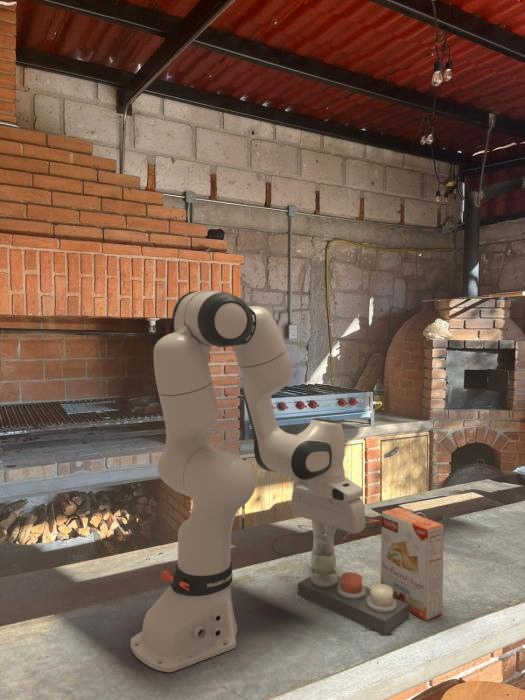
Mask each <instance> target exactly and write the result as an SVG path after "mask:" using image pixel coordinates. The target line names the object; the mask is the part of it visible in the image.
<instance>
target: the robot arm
mask: <svg viewBox="0 0 525 700" xmlns="http://www.w3.org/2000/svg"><path fill="white" fill-rule="evenodd" d="M171 317H172V318H171V321H170V324H169V328H168V330H169V333H168V334H166V335H164V336H163V337H161V338H159V340H158V341H157V342H156V343H155V345H154V347H153V367H154V368H153V369H154V377H155V384H156V387H157V393H158V397H159V402H160V406H161V410H162V416H163V420H164V426H165V436H166V437H165V447H164V450H163V451H162V452H161V454H160V456H159V459H158V464H157V471H158V475H159V478H160V479H161V480H162V481H163V483H165V485H167V486H168V487H170V488H171V490H173V491H175V492H177V493H179V494H181V495H182V494H183V496H187V497H190V498H191V500H192V507H191V513H190V515H189V518H187V519H186V520H184V521H183V522H182V523H181V525H180V526H179V528H178V532H177V563H176V565H175V568H174V571H173V573H172V572H170V571H169V570H166V569H164V570H163V571H162V572H161V574H160V578H161V579H160V580H162V581H164V582H166V583H167V584H168V583H170V585H169V587H167V588H166V590H165V591H164V592H163V593H162V594H161V596H160V597H159V598H158V599H157V600H156V601H155V602H154V604H153V605H152V606H151V607H150V608H149V609H148V610H147V611H146V613H145V615H144V618H143V622H142V630H141V631H140V632H138V633H137V634H135V635H134V636H133V637H131V638H130V651H131V652H132V654H133V655H134V656H135V657H136V659H138V660H139V661H141V662H142V663H143V664H144V665H146V666H148V667H150V668H151V669H154V670H156V671H161V672H164V673H173V672H176V671H178V670H181V669H185V668H186V667H189V666H192V665H195V664H196V663H199V662H203V661H204V660H207V659H210V658H213V657H215V656H218V655H220V654H223V653H226V652H229V651H231V650H234V649H235V648H236V647H237V640H236V636H237V634H238V624H237V622H236V618H235V614H234V607H233V600H232V599H233V597H232V587H231V586H232V585H231V584H232V583H233V563H232V561H231V550H232V549H231V548H232V547H231V546H232V545H231V544H232V543H231V542H232V529H233V526H234V525H233V524H234V521H235V519H236V515H237V513H238V512H239V510H240V509H241V508H242V507H243V506H246V504H247V503H248V502H249V501H250V500H251V498H252V496H253V495H254V492H255V490H256V487H257V477H256V475H257V474H256V471H255V469H254V467H253V466H252V464H251V463H249V462H248V461H246V460H245V459H243V458H242V457H240V456H238V455H237V454H235V453H233V452H230V451H225V450H221V449H217V448H215V447H214V446H213V444H212V441H211V432H212V428H213V427H215V425H216V424H217V423H218V420H219V417H220V413H219V412H220V411H219V407H218V402H217V399H216V397H217V396H216V393H215V389H214V383H213V378H212V374H211V369H210V367H209V359H210V357H209V356H210V353H211V349H212V347H213V346H214V347H218V348H229V347H231V349H232V351H233V352H234V355H235V357H236V361H237V364H238V367H239V369H240V373H241V376H242V380H243V382H242V395H243V400H244V404H245V408H246V411H247V415H248V420H249V423H250V427H251V431H252V435H253V452H254V458H255V462H256V464H257V465H258V466H259V467H260V468H261V469H263V470H264V471H268V472H272V473H277V474H280V475H283V476H286V477H290V478H293V479H295V480H293V484H292V486H293V487H292V494H291V502H290V505H291V506H290V511H291V512H292V514H293V515H294V516H299V517H301V518H304V519H306V520H310V521H312V520H313V521H315V526H316V528H317V530H318V532H319V539H320V540H322V541H325V542H328V543H331V542H333V534H334V535H335V533H336V532H337V530H341V531H344V532H347V533H351V534H353V535H355V534H358V533H360V532H362V531H363V530H364V528H366V511H365V502H364V501H363V499H362V498H361V497H363V496H364V495H363V494H364V490H363V487H361V486H360V485H358V484H356V483H355V482H353V481H352V480H351V479H350V478H348V477H347V476H346V475H345V474H346V472H345V467H344V459H345V456H346V455H345V453H346V451H345V447H346V446H345V445H346V444H345V433H344V429H343V425H342V423H340V422H339V421H337V420H334V419H329V418H324V417H323V418H322V417H314V418H311V420H310V423H309V425H308V426H307V427H306V428H305V429H304V430H302V431H301V432H299V433H297V434H292V433H288V432H286V431H285V430H283V429H282V428H280V427H279V424H278V423H277V419H276V415H275V411H274V407H273V402H272V396H274V395H275V394H277V393H278V392H279V391H281V390H283V389H284V388H285V387H286V386H287V385H288V382H289V381H290V379H291V377H292V374H293V366H292V359H291V357H290V354H289V351H288V349H287V346H286V342H285V339H284V337H283V335H282V333H281V331H280V329H279V326H278V324H277V323H276V321H275V319H274V317H273V315H272V314H271V313H270V311H269V310H268V309H266V308H265V307H262V306H257V305H256V306H255V305H253V306H251V305H250V306H248V305H247V303H245V302H244V300H243V299H241V297H238V296H237V295H235V294H233V293H230V292H227V291H226V292H225V291H222V292H220V291H217V290H212V289H206V290H204V289H203V290H194V291H189V292H187V293H185V294H184V295H181V297H180V298H179V299H178V300H177V301H176V302H175V304H174V307H173V311H172V315H171ZM324 524H325V525H327V529H328V530H329V532H326V531H325V528H324Z"/></svg>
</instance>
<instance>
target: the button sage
mask: <svg viewBox="0 0 525 700" xmlns="http://www.w3.org/2000/svg"><path fill="white" fill-rule="evenodd" d="M313 570H314V573H317V574H320V575H331V574H335V573H334V572H335V568H334V559H333V558H331V557H328V556H319V557H316V558H315V559H314V569H313Z"/></svg>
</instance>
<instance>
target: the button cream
mask: <svg viewBox="0 0 525 700" xmlns="http://www.w3.org/2000/svg"><path fill="white" fill-rule="evenodd" d="M370 589H371V601H372V602H373V603H374V604H376V605H380V606H388V605H391V604H392V603H393V589H392V588H391V587H390V586H388V585H385V584H381V583H375V584H372V585H371V586H370Z"/></svg>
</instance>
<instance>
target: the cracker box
mask: <svg viewBox="0 0 525 700" xmlns="http://www.w3.org/2000/svg"><path fill="white" fill-rule="evenodd" d="M444 528H445V525H444V524H442V523H439V522H436V521H434V520H431V519H429V518H426V517H424V516H421V515H418V514H416V513H413V512H410V511H407V510H405V509H402V508H400V507H395V508H391V509H386V510H384V511H381V542H380V543H381V546H380V547H381V549H380V550H381V551H380V584H385V585H388V586H390V587H391V588H392V589H393V598H395V599H397V600H400V601H402V602H405V603H407V604H409V613H411V614H413V615H414V616H416V617H418V618H419V619H422V620H423V621H424V622H427V621H429V620H431V619H433V618H435V617H439V616H441V615H442V614H443V590H444V589H443V584H444V582H443V581H444V579H443V578H444V542H445V541H444V539H445V538H444V535H445V531H444Z"/></svg>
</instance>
